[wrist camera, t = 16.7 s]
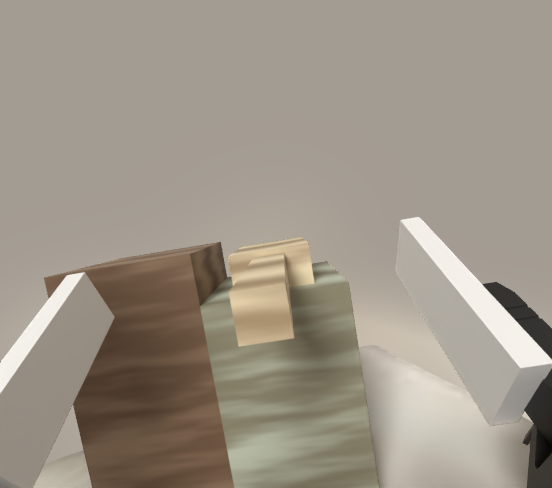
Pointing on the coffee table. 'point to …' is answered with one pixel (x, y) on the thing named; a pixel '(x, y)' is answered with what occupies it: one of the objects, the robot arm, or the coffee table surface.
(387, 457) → the coffee table surface
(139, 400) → the stand
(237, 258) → the light wooden block
